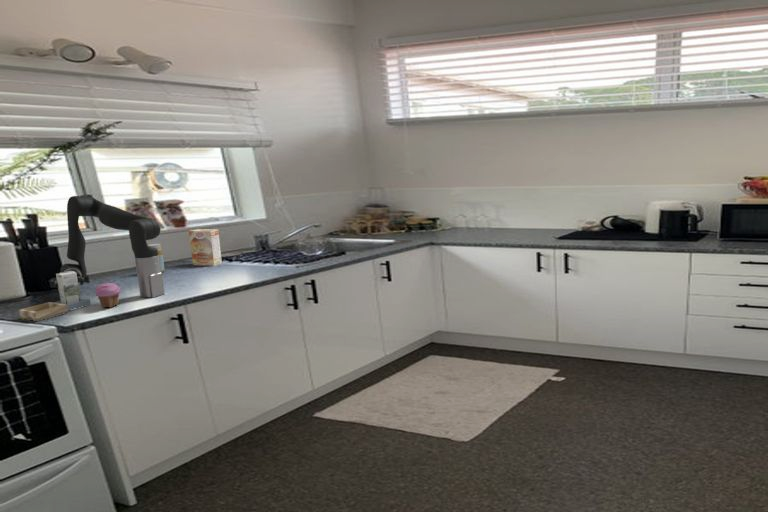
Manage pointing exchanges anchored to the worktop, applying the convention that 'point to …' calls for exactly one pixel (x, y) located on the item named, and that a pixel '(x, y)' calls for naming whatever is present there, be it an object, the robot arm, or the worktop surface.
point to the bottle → (159, 255)
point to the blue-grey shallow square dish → (77, 303)
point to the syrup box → (68, 287)
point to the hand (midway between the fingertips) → (69, 284)
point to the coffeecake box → (205, 247)
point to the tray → (42, 311)
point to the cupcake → (108, 294)
